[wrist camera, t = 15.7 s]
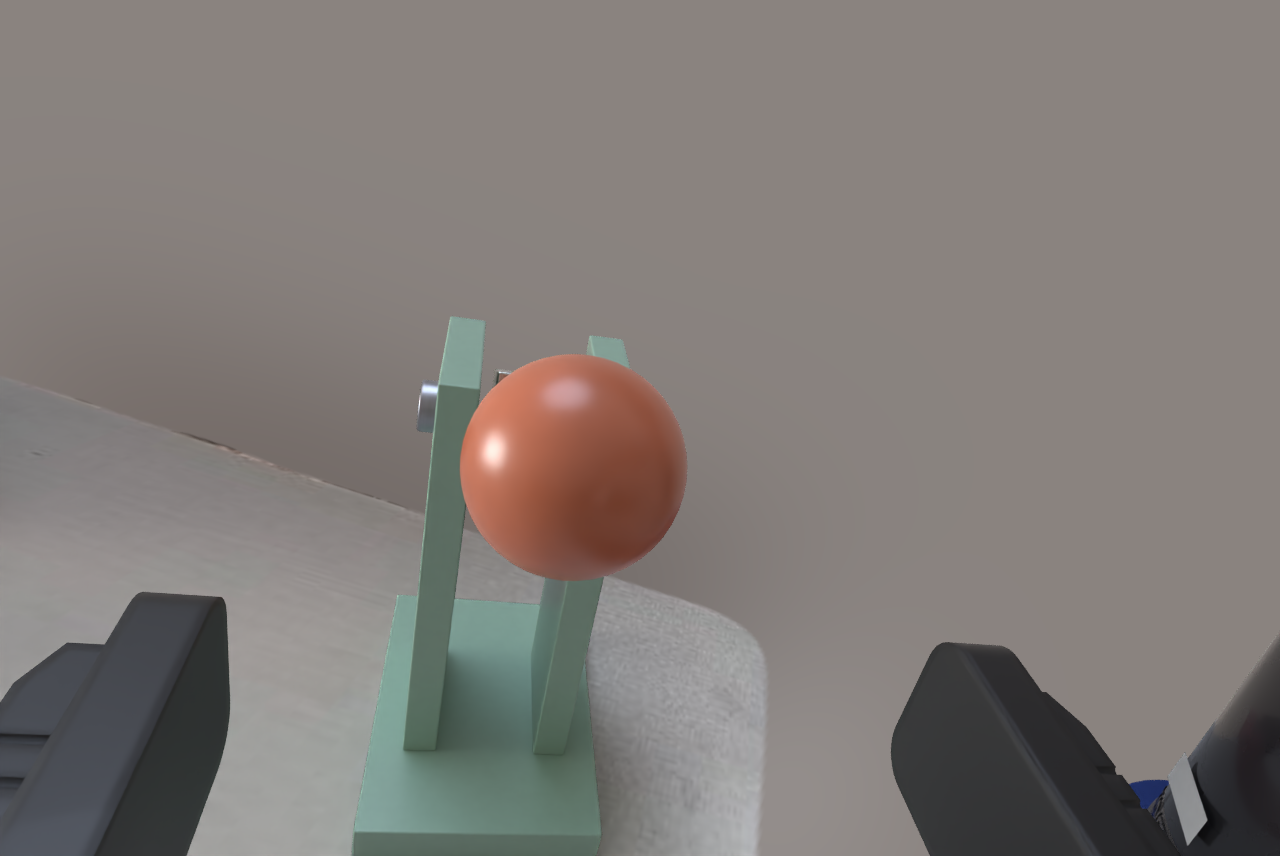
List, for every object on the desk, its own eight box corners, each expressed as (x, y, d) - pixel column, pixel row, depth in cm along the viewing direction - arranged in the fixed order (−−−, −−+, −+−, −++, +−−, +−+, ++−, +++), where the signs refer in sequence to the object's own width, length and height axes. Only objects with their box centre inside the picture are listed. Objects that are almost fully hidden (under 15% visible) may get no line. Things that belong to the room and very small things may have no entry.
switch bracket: (595, 861, 25) (702, 471, 19) (350, 859, 24) (377, 437, 17) (575, 629, 34) (643, 309, 27) (395, 618, 32) (423, 277, 26)
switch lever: (697, 619, 12) (730, 371, 12) (444, 601, 11) (473, 338, 11) (581, 480, 25) (596, 360, 25) (458, 468, 24) (472, 344, 24)
